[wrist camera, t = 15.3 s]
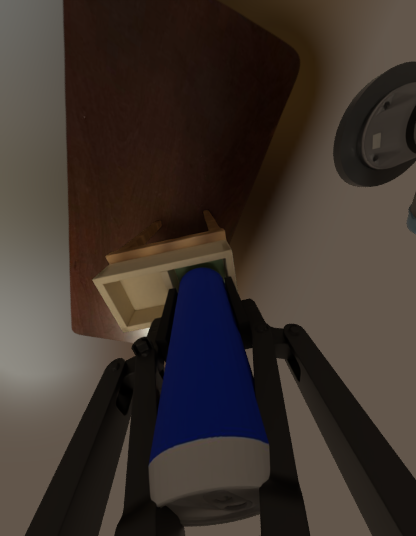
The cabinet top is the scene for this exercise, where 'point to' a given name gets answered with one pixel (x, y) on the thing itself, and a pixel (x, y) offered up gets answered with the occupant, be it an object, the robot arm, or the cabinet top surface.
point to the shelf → (166, 241)
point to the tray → (156, 281)
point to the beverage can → (207, 413)
